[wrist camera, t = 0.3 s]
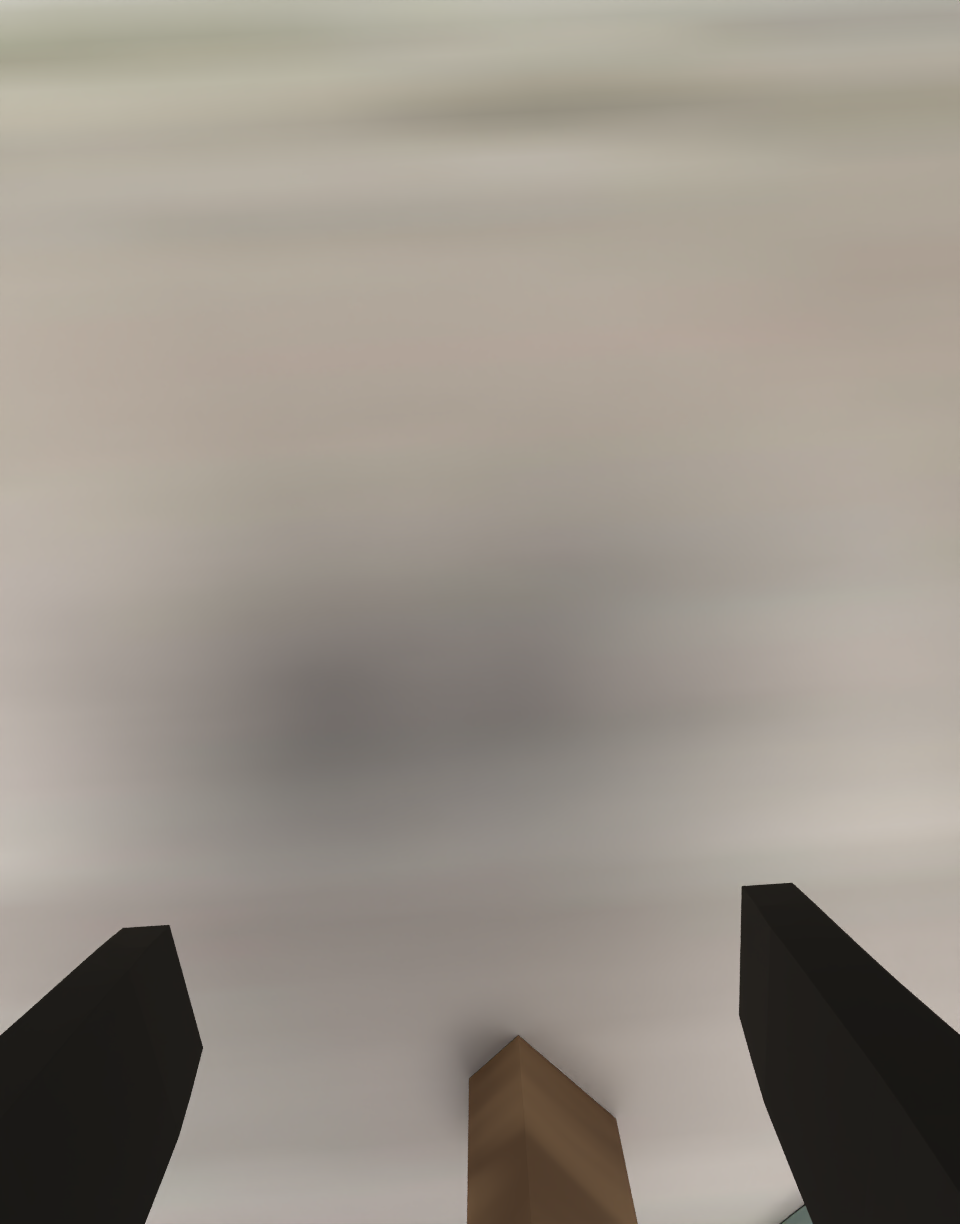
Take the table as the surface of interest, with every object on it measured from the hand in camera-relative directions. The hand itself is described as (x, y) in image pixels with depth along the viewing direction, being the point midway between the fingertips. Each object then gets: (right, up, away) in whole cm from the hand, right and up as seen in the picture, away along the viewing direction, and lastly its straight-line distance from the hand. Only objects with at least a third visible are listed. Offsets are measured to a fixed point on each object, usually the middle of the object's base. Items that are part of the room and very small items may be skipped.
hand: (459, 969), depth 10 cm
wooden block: (+2, -10, +13) cm, 16 cm away
